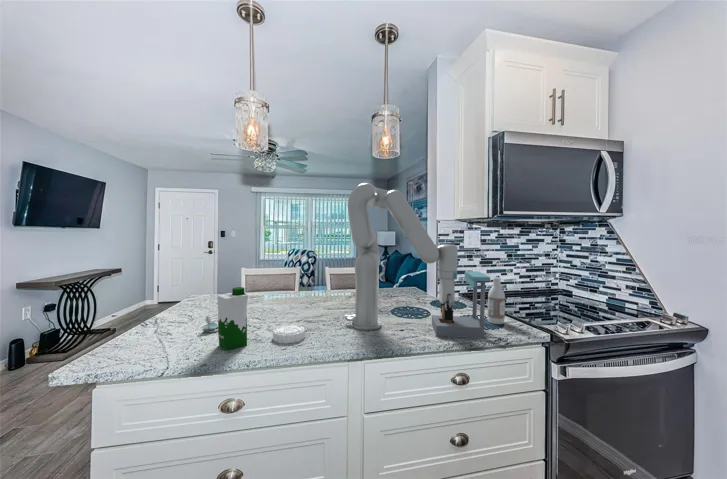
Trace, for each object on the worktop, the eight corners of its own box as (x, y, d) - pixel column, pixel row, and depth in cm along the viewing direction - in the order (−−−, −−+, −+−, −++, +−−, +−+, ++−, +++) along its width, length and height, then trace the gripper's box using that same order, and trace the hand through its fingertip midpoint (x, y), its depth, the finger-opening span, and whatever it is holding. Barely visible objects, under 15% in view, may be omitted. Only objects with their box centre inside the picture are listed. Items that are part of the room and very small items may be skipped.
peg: (442, 332, 124) (442, 307, 124) (440, 328, 128) (441, 304, 128) (452, 332, 124) (452, 307, 123) (450, 329, 128) (450, 305, 127)
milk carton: (250, 345, 109) (250, 289, 108) (224, 352, 102) (223, 293, 101) (240, 338, 115) (240, 285, 114) (215, 345, 109) (214, 289, 108)
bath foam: (498, 325, 133) (499, 279, 132) (484, 321, 138) (485, 277, 138) (507, 322, 136) (508, 278, 136) (493, 318, 142) (494, 276, 141)
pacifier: (222, 327, 128) (206, 328, 127) (222, 312, 128) (206, 313, 126) (217, 333, 121) (201, 334, 119) (218, 318, 120) (201, 318, 119)
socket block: (436, 336, 119) (436, 325, 119) (431, 324, 133) (431, 315, 133) (484, 338, 118) (484, 327, 117) (474, 326, 132) (474, 316, 131)
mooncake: (305, 342, 112) (305, 333, 112) (271, 345, 110) (271, 335, 110) (305, 331, 124) (305, 322, 124) (274, 333, 122) (274, 324, 121)
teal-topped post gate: (472, 338, 118) (473, 276, 117) (463, 325, 133) (464, 271, 131) (488, 338, 117) (490, 277, 116) (477, 325, 132) (479, 271, 131)
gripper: (435, 271, 134) (434, 310, 135) (441, 278, 117) (440, 322, 117) (452, 271, 133) (452, 311, 134) (461, 278, 116) (460, 323, 117)
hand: (446, 316), depth 126 cm, fingers open, 9 cm apart
